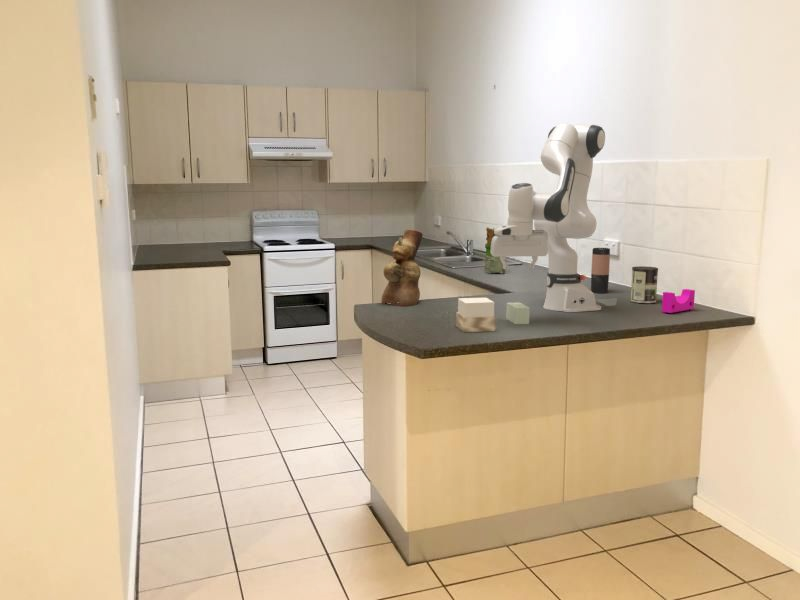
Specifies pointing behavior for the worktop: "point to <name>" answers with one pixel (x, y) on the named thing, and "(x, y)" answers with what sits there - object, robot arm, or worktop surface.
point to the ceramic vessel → (403, 272)
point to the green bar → (517, 313)
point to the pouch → (492, 257)
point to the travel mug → (600, 270)
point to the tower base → (475, 323)
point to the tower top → (475, 307)
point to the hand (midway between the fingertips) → (518, 269)
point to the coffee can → (644, 284)
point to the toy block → (678, 301)
